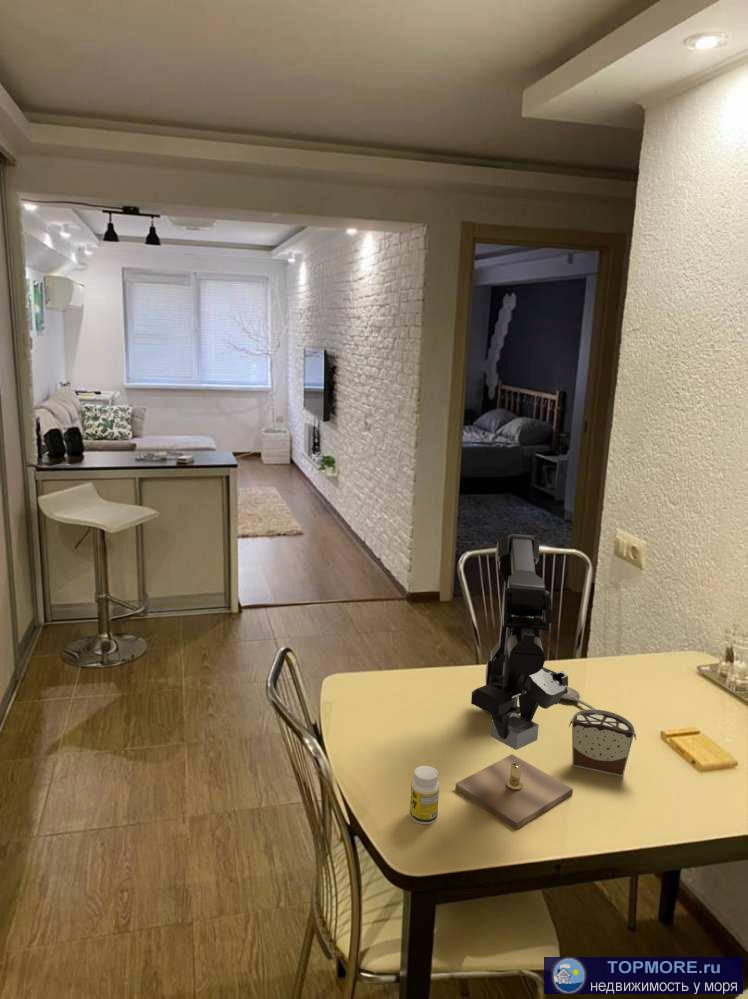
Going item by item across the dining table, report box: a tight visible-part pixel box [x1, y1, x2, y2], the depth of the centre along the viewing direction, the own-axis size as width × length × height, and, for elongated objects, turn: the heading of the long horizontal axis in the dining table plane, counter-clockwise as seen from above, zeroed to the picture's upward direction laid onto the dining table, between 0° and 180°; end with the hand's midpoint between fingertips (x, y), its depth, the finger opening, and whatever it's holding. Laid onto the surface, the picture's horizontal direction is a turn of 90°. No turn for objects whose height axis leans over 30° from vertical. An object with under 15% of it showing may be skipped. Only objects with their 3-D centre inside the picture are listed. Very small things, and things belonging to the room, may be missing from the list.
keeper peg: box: [507, 763, 522, 791], centre depth 131 cm, size 3×3×4 cm
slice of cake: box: [568, 708, 637, 777], centre depth 141 cm, size 12×6×10 cm, turn 71°
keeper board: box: [455, 753, 574, 830], centre depth 132 cm, size 16×14×1 cm
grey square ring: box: [489, 712, 540, 751], centre depth 131 cm, size 6×6×3 cm
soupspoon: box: [561, 687, 596, 709], centre depth 163 cm, size 22×3×7 cm
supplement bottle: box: [409, 765, 440, 825], centre depth 123 cm, size 5×5×8 cm
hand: (514, 733), depth 131 cm, fingers closed on grey square ring, 6 cm apart
